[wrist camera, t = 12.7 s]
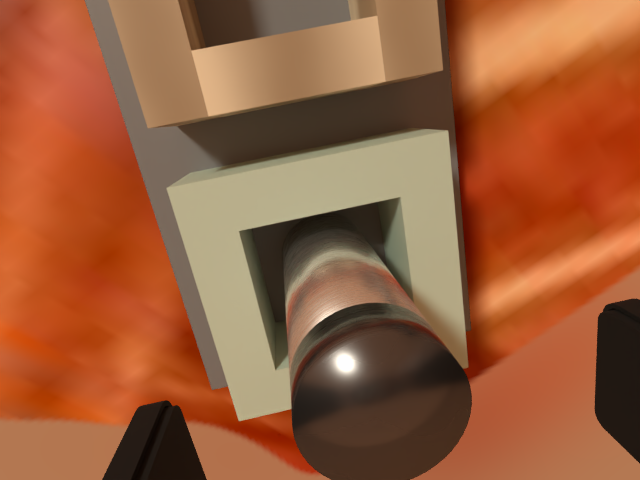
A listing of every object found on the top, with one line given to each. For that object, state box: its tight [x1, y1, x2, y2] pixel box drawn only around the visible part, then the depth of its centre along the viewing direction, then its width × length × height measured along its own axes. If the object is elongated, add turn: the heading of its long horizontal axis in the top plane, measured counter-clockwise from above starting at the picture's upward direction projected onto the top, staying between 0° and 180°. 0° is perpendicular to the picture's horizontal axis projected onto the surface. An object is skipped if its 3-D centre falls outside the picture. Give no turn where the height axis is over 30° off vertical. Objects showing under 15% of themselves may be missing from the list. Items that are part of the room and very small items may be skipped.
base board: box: [85, 0, 471, 390], centre depth 18 cm, size 14×24×2 cm, turn 11°
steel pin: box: [282, 213, 472, 480], centre depth 14 cm, size 4×4×11 cm
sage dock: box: [167, 128, 468, 421], centre depth 17 cm, size 10×10×4 cm
